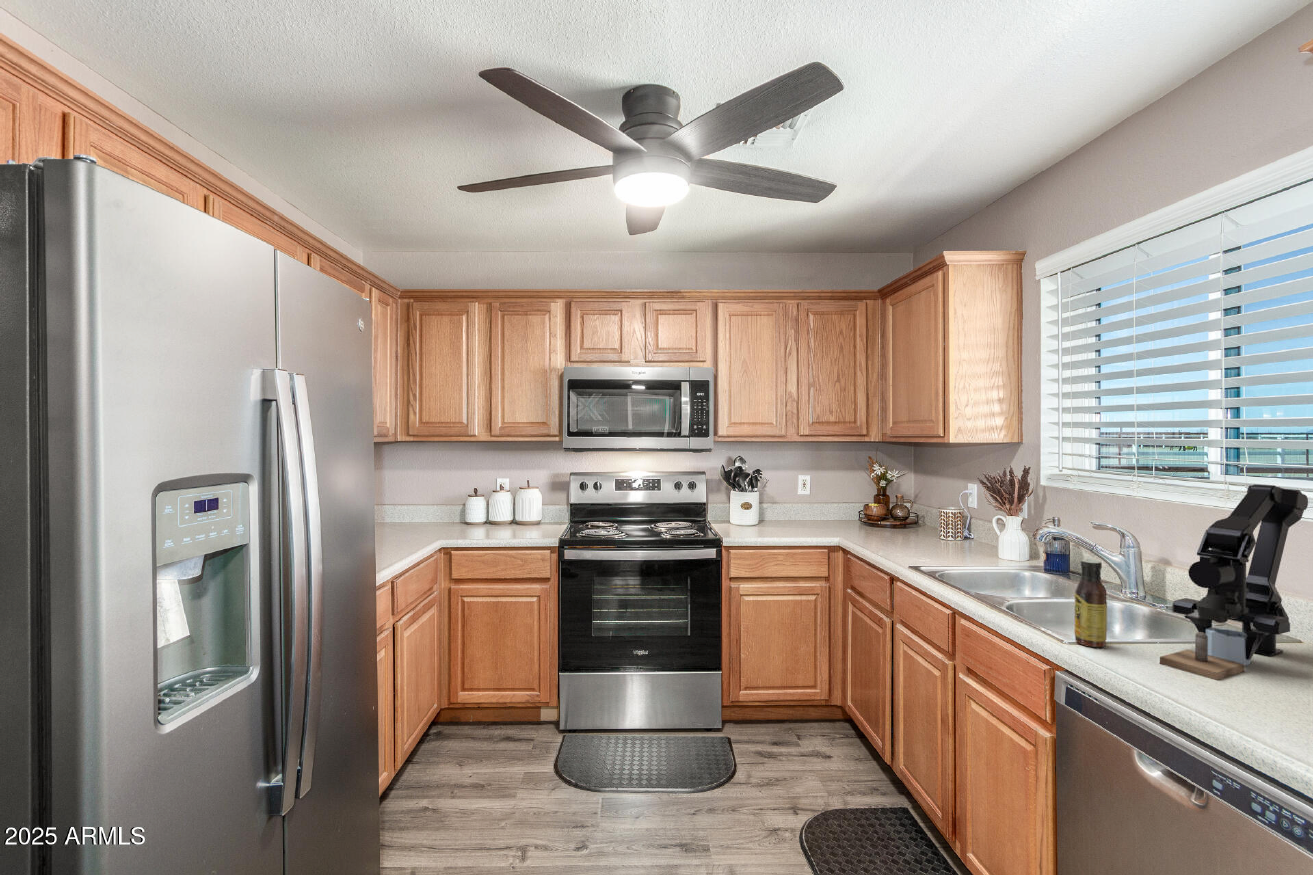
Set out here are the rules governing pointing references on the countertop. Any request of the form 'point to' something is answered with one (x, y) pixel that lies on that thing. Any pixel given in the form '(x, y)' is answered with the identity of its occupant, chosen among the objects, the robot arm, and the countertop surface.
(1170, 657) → the roll holder
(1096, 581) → the sauce bottle
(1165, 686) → the countertop surface
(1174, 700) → the countertop surface
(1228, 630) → the blue roll
